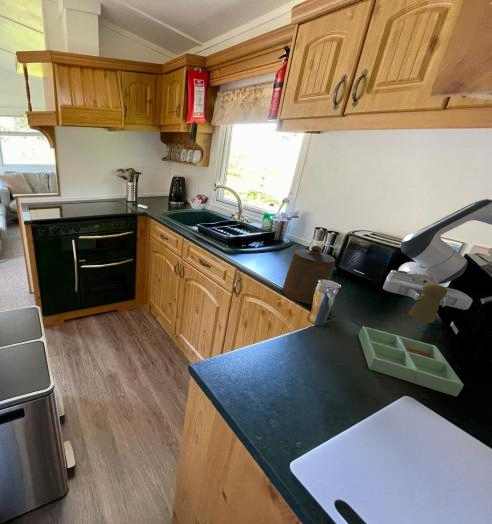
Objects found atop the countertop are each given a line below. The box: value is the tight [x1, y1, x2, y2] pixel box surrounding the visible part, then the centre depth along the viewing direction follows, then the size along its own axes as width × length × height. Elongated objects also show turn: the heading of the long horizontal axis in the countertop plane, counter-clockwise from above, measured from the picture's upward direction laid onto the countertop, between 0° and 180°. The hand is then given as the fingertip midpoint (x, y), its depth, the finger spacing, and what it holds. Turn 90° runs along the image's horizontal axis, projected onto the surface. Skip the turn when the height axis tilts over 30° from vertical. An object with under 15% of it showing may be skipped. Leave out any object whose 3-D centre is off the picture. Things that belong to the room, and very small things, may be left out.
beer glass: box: [306, 279, 342, 327], centre depth 99 cm, size 7×7×15 cm
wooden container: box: [282, 245, 336, 305], centre depth 117 cm, size 15×15×22 cm
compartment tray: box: [358, 325, 465, 398], centre depth 83 cm, size 18×18×4 cm
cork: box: [407, 283, 447, 324], centre depth 86 cm, size 6×6×11 cm
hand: (430, 301), depth 85 cm, fingers closed on cork, 4 cm apart
